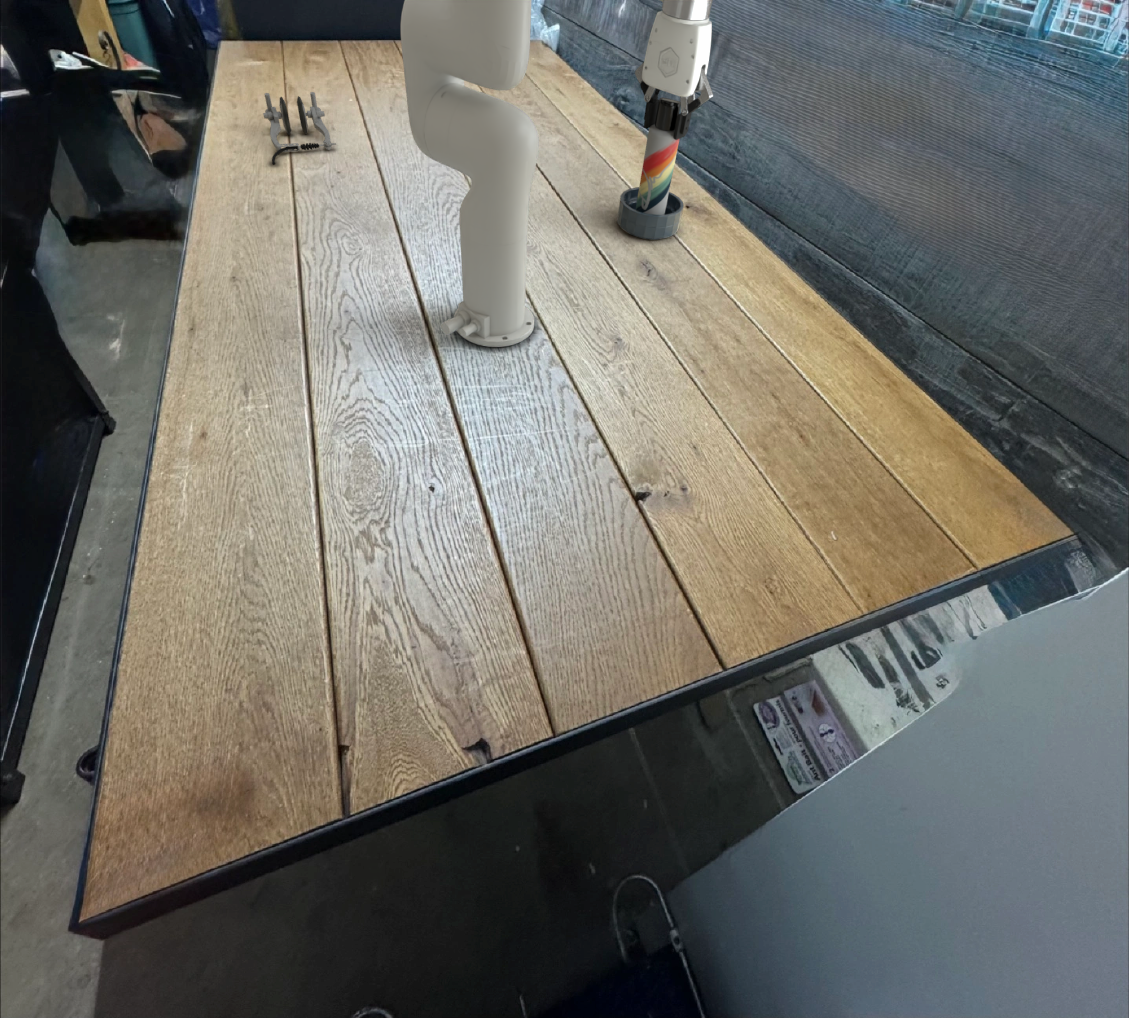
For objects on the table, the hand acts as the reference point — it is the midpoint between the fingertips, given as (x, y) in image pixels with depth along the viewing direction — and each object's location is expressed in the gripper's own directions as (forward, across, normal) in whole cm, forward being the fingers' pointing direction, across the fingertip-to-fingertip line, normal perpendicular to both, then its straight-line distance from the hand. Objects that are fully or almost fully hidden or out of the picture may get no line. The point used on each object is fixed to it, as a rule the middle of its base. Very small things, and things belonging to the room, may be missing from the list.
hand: (664, 130), depth 116 cm
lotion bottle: (+15, 0, 0) cm, 15 cm away
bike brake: (+18, -73, -27) cm, 80 cm away
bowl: (+17, 0, 0) cm, 17 cm away
